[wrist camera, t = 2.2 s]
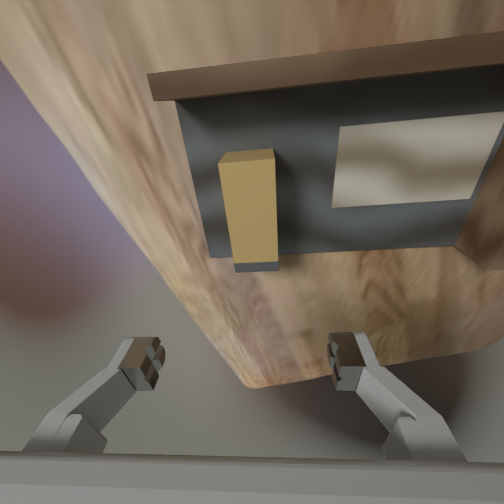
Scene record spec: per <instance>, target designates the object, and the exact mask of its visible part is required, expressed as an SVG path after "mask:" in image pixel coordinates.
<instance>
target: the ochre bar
mask: <svg viewBox="0 0 504 504" xmlns="http://www.w3.org/2000/svg"><path fill="white" fill-rule="evenodd" d="M218 167H219V174H220V180H221V186H222V192H223V198H224V205H225V211H226V217H227V223H228V229H229V235H230V242H231V248H232V254H233V260H234V266H235V273H237V272H260V271H279V269H278V238H277V208H276V177H275V157H274V151H273V148H271V149H260V150H249V151H237V152H226V153H225V154H224V156H223V157H222V158H221V160H220V161H219V163H218Z"/></svg>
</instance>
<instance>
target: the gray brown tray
mask: <svg viewBox="0 0 504 504" xmlns="http://www.w3.org/2000/svg"><path fill="white" fill-rule="evenodd" d="M147 78H148V82H149V85H150V89H151V93H152V96H153V100H154V101H175V104H176V108H177V113H178V117H179V121H180V126H181V130H182V135H183V139H184V143H185V148H186V152H187V157H188V161H189V165H190V170H191V174H192V179H193V183H194V187H195V192H196V196H197V201H198V205H199V210H200V214H201V218H202V223H203V227H204V232H205V236H206V240H207V245H208V249H209V254H210V258H213V257H233V254H232V248H231V242H230V235H229V229H228V223H227V217H226V211H225V205H224V198H223V192H222V186H221V180H220V174H219V167H218V163H219V161H220V160H221V158H222V157H223V156H224V154H225V153H226V152H237V151H249V150H260V149H271V148H273V151H274V157H275V177H276V208H277V238H278V254H293V253H313V252H333V251H353V250H373V249H393V248H413V247H433V246H453V245H454V246H455V247H457V248H458V249H459V250H461V251H462V252H463V253H464V254H466V255H467V256H468V257H470V258H471V259H472V260H474V261H475V262H476V263H477V264H479V265H480V266H481V267H483V268H484V269H485V270H502V269H503V268H504V31H502V32H494V33H485V34H477V35H469V36H460V37H452V38H444V39H435V40H427V41H418V42H410V43H402V44H393V45H385V46H377V47H368V48H360V49H352V50H343V51H335V52H326V53H318V54H310V55H301V56H293V57H285V58H276V59H268V60H260V61H251V62H243V63H234V64H226V65H218V66H209V67H201V68H193V69H184V70H176V71H168V72H159V73H151V74H147Z"/></svg>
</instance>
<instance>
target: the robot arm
mask: <svg viewBox="0 0 504 504" xmlns="http://www.w3.org/2000/svg"><path fill="white" fill-rule="evenodd" d="M160 342H161V341H160V339H159V337H127V338H125V339H124V340H123V342H122V344H121V345H120V347H119V349H118V350H117V352H116V354H115V355H114V357H113V359H112V361H111V362H110V364H109V366H108V368H107V369H103V370H102V371H101V372H99V373H98V374H97V375H96V376H94V377H93V378H92V379H91V380H89V381H88V382H87V383H85V384H84V385H83V386H82V387H81V388H79V389H78V390H77V391H76V392H74V393H73V394H72V395H70V396H69V397H68V398H67V399H65V400H64V401H63V402H62V403H60V404H59V405H58V406H57V407H55V408H54V409H53V410H51V411H50V412H49V413H48V414H47V416H46V417H45V419H44V420H43V421H42V423H41V424H40V426H39V427H38V429H37V430H36V431H35V433H34V434H33V436H32V437H31V439H30V440H29V442H28V443H27V445H26V446H25V447H24V449H23V450H22V451H0V504H504V463H495V462H467V460H466V458H465V456H464V455H463V453H462V451H461V449H460V448H459V446H458V444H457V442H456V440H455V439H454V437H453V435H452V433H451V432H450V430H449V428H448V426H447V425H446V423H445V421H444V419H443V417H442V416H441V415H440V414H438V413H437V412H436V411H435V410H434V409H433V408H431V407H430V406H429V405H428V404H427V403H426V402H424V401H423V400H422V399H421V398H420V397H419V396H417V395H416V394H415V393H414V392H413V391H412V390H411V389H409V388H408V387H407V386H406V385H405V384H404V383H402V382H401V381H400V380H399V379H398V378H396V377H395V376H394V375H393V374H392V373H391V372H389V371H388V370H387V369H386V368H385V367H380V364H379V362H378V360H377V358H376V355H375V353H374V351H373V349H372V347H371V344H370V342H369V340H368V338H367V335H366V334H365V333H364V332H354V333H352V332H343V333H330V334H329V342H330V343H328V345H327V355H328V361H329V365H330V366H331V367H332V368H333V372H332V377H333V381H334V385H335V389H336V390H347V391H351V390H352V391H356V393H357V394H358V395H359V396H360V397H361V398H362V400H363V401H364V402H365V403H366V404H367V406H368V407H369V408H370V409H371V410H372V412H373V413H374V414H375V415H376V416H377V418H378V419H379V420H380V421H381V422H382V424H383V425H384V426H385V427H386V428H387V429H388V431H389V432H390V434H389V436H388V438H387V440H386V441H385V443H384V445H383V450H384V453H385V456H386V459H387V460H366V459H325V458H282V457H241V456H198V455H197V456H194V455H157V454H156V455H154V454H113V453H112V454H111V453H103V451H104V448H105V446H106V444H107V439H106V437H104V436H103V435H102V434H101V433H100V431H101V430H102V429H103V428H104V427H105V426H106V425H107V424H108V423H109V421H110V420H111V419H112V418H113V417H114V416H115V415H116V414H117V413H118V411H119V410H120V409H121V408H122V407H123V406H124V405H125V404H126V402H127V401H128V400H129V399H130V398H131V397H132V396H133V395H134V394H135V393H136V391H147V390H154V388H155V385H156V383H157V380H158V377H159V374H158V371H159V370H160V369H161V368H162V367H163V364H164V361H165V349H164V347H163V346H161V345H160Z"/></svg>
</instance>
